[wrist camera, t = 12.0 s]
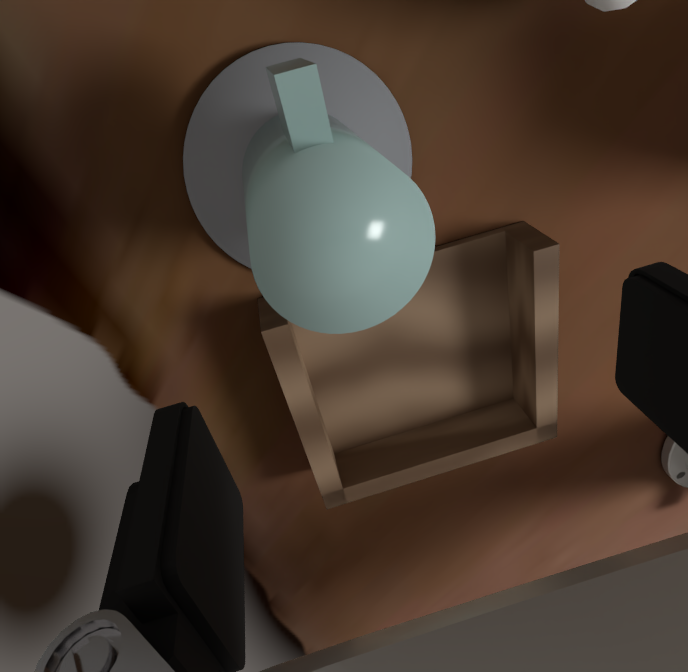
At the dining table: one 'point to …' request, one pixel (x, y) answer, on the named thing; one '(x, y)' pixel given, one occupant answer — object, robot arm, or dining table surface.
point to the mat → (259, 107)
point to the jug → (329, 215)
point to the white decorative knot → (609, 4)
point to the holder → (430, 370)
